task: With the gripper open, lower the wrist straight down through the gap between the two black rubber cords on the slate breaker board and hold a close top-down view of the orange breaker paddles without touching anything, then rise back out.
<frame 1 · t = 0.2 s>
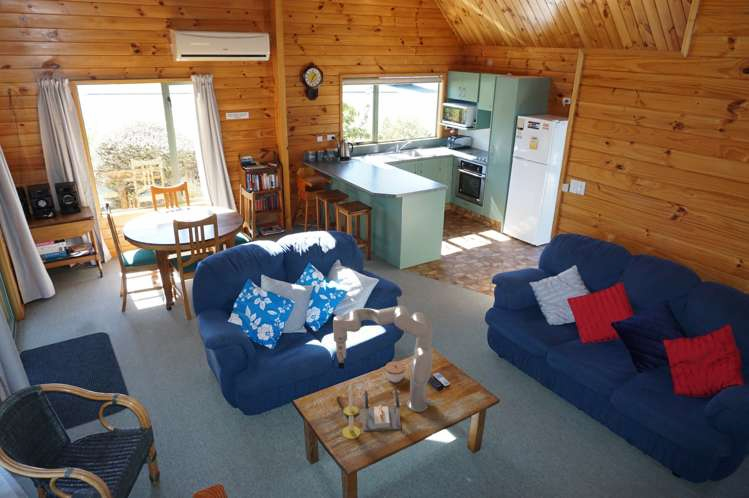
hand: (341, 363, 287), 31 cm above the table, tool pointing down, fingers open, 9 cm apart
breaker board: (381, 420, 289), on the table
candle: (351, 432, 280), on the table
inner cord: (396, 399, 284), point 14 cm above the table, touching breaker board
sunglasses case: (348, 408, 300), on the table
lidded bowl: (395, 379, 325), on the table
breaker paddles: (380, 412, 287), point 6 cm above the table, hinge at 12.0°
outer cord: (366, 400, 283), point 14 cm above the table, touching breaker board
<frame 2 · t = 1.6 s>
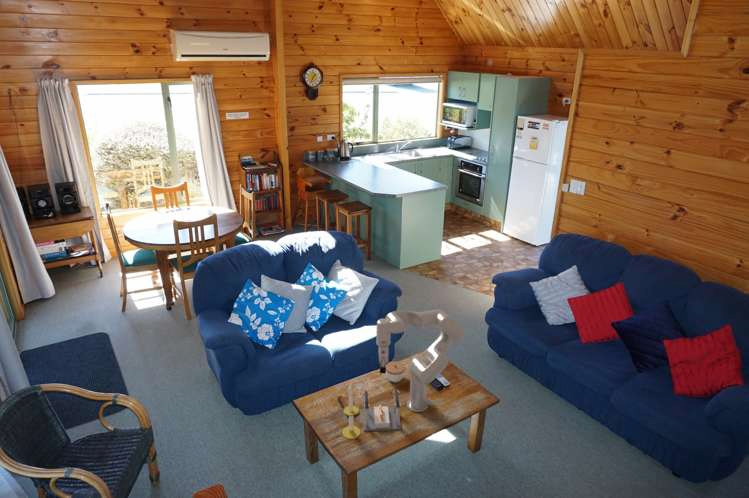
hand: (382, 367, 281), 33 cm above the table, tool pointing down, fingers open, 9 cm apart
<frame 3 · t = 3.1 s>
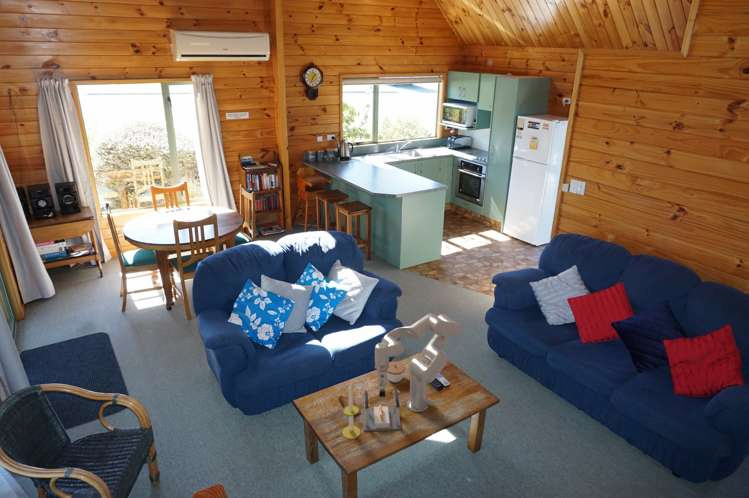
hand: (381, 390, 281), 20 cm above the table, tool pointing down, fingers open, 9 cm apart
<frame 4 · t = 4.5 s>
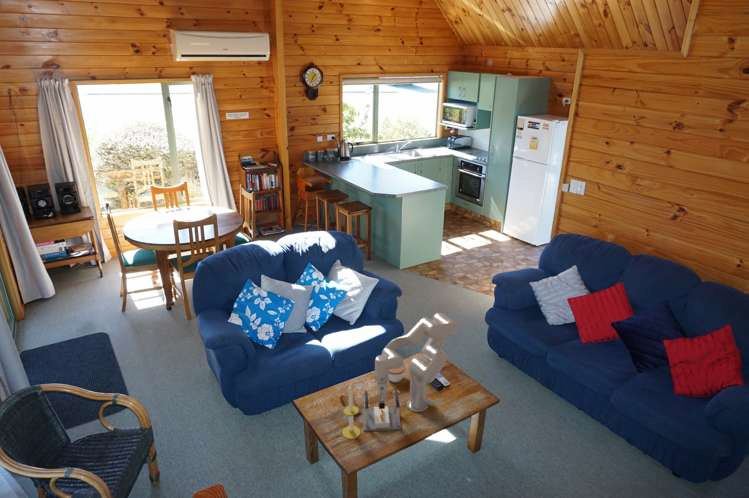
hand: (381, 402, 284), 12 cm above the table, tool pointing down, fingers open, 9 cm apart
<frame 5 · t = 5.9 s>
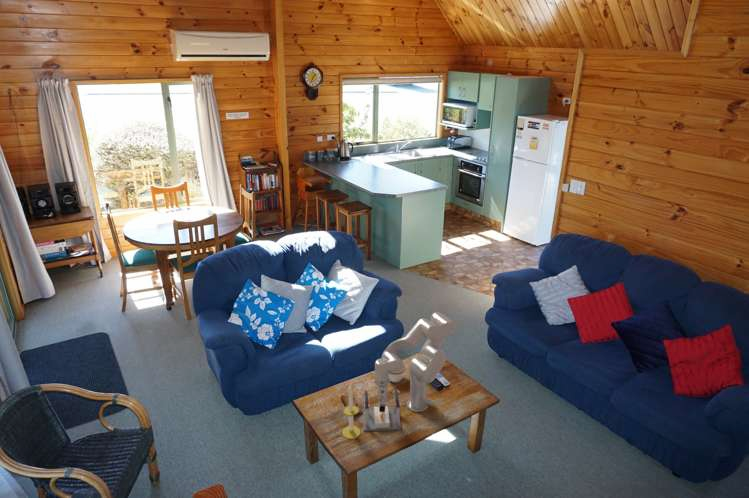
hand: (381, 405, 285), 10 cm above the table, tool pointing down, fingers open, 9 cm apart
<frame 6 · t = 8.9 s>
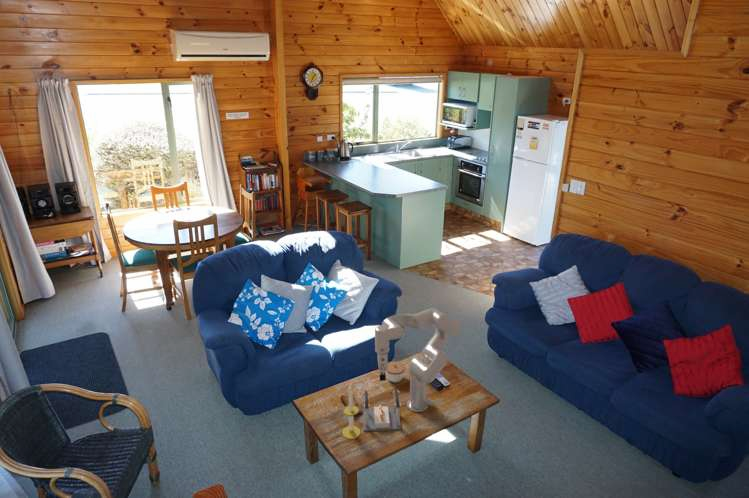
hand: (382, 374, 278), 31 cm above the table, tool pointing down, fingers open, 9 cm apart
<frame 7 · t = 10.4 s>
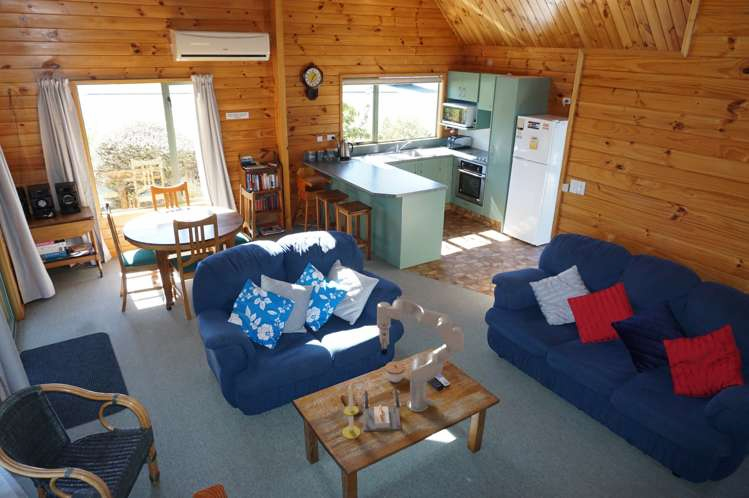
hand: (383, 349, 290), 36 cm above the table, tool pointing down, fingers open, 9 cm apart
sunglasses case: (352, 407, 300), on the table, touching breaker board
everything else where it was.
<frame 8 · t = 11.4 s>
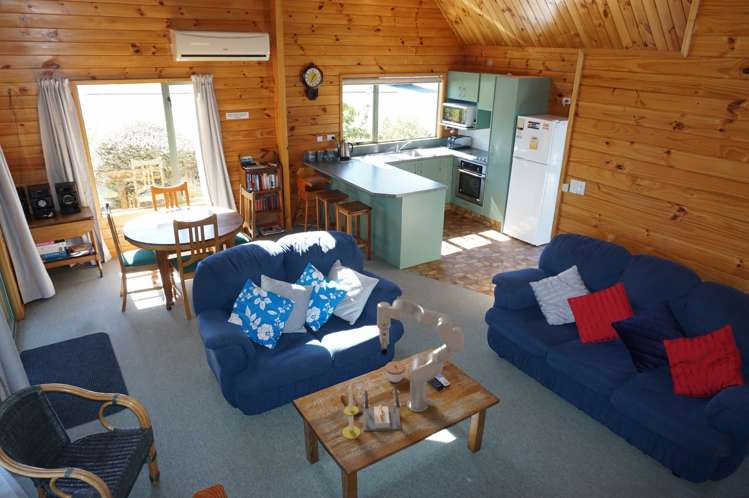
hand: (383, 349, 290), 36 cm above the table, tool pointing down, fingers open, 9 cm apart
sunglasses case: (352, 407, 300), on the table
everything else where it was.
at the end: inner cord moved 0.0 cm from its start; outer cord moved 0.0 cm from its start; breaker paddles at +12° (first picture: +12°) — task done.
